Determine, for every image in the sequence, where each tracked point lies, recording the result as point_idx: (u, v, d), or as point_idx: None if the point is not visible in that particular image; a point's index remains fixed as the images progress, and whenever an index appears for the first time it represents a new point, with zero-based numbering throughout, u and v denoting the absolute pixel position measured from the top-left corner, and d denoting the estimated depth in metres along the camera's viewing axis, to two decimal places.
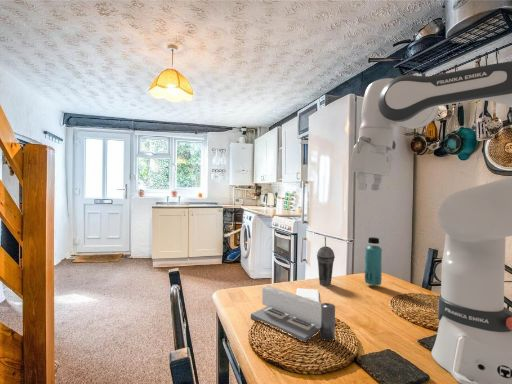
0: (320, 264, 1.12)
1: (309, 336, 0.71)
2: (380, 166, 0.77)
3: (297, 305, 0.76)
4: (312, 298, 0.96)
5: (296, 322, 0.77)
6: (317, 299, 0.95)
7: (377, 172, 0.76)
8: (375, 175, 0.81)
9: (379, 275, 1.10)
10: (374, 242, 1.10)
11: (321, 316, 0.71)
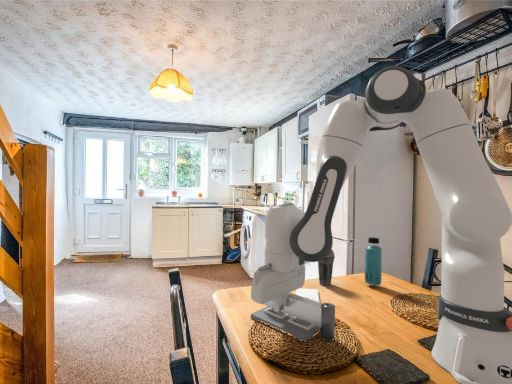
0: (320, 264, 1.12)
1: (309, 336, 0.71)
2: (287, 286, 0.77)
3: (297, 305, 0.76)
4: (312, 298, 0.96)
5: (296, 322, 0.77)
6: (317, 299, 0.95)
7: (284, 293, 0.76)
8: None
9: (379, 275, 1.10)
10: (374, 242, 1.10)
11: (321, 316, 0.71)
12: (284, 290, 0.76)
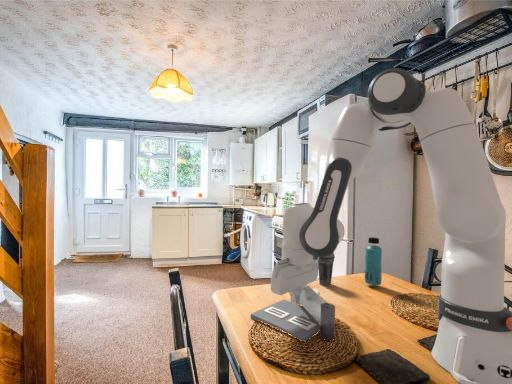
0: (320, 264, 1.12)
1: (309, 336, 0.71)
2: (303, 279, 0.83)
3: (309, 301, 0.79)
4: None
5: (296, 322, 0.77)
6: None
7: (300, 286, 0.82)
8: None
9: (379, 275, 1.10)
10: (374, 242, 1.10)
11: (320, 314, 0.72)
12: (300, 283, 0.82)
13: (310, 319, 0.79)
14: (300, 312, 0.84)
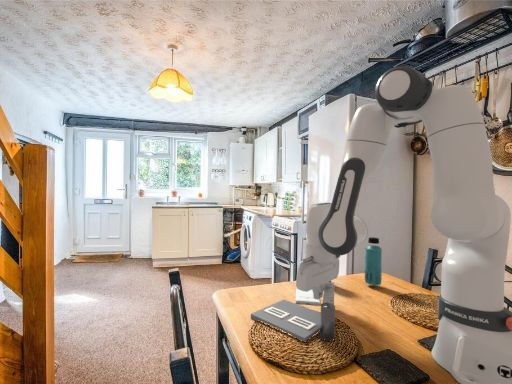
0: None
1: (309, 336, 0.71)
2: (325, 276, 0.86)
3: None
4: (312, 297, 0.96)
5: (296, 322, 0.77)
6: None
7: (323, 283, 0.85)
8: None
9: (379, 275, 1.10)
10: (374, 242, 1.10)
11: None
12: (323, 280, 0.85)
13: (310, 319, 0.79)
14: (300, 312, 0.84)
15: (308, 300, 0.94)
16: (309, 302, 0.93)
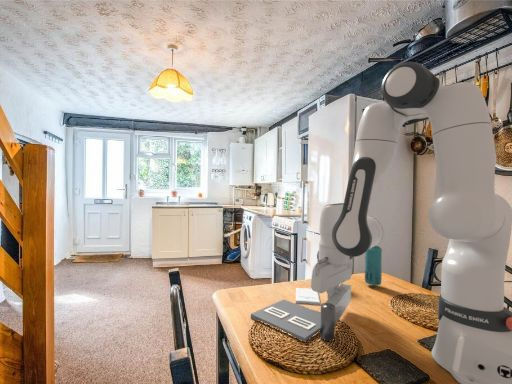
0: None
1: (309, 336, 0.71)
2: (340, 277, 0.85)
3: None
4: (312, 297, 0.96)
5: (296, 322, 0.77)
6: (317, 298, 0.96)
7: (337, 284, 0.84)
8: None
9: (379, 275, 1.10)
10: None
11: None
12: (337, 281, 0.84)
13: (310, 319, 0.79)
14: (300, 312, 0.84)
15: (308, 300, 0.94)
16: (309, 302, 0.93)
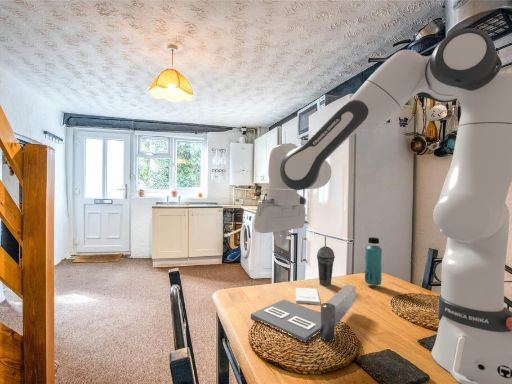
0: (320, 264, 1.12)
1: (309, 336, 0.71)
2: (288, 222, 0.82)
3: None
4: (312, 297, 0.97)
5: (296, 322, 0.77)
6: (317, 298, 0.96)
7: (285, 228, 0.81)
8: None
9: (379, 275, 1.10)
10: (374, 242, 1.10)
11: None
12: (285, 225, 0.81)
13: (310, 319, 0.79)
14: (300, 312, 0.84)
15: (308, 300, 0.94)
16: (310, 302, 0.93)
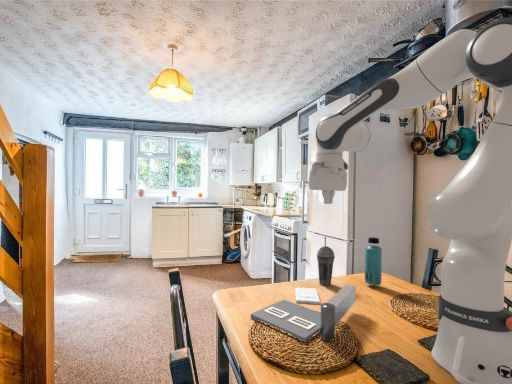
0: (320, 264, 1.12)
1: (309, 336, 0.71)
2: (335, 183, 0.94)
3: None
4: (312, 297, 0.97)
5: (296, 322, 0.77)
6: (317, 298, 0.96)
7: (333, 188, 0.94)
8: None
9: (379, 275, 1.10)
10: (374, 242, 1.10)
11: None
12: (333, 186, 0.93)
13: (310, 319, 0.79)
14: (300, 312, 0.84)
15: (308, 300, 0.94)
16: (310, 302, 0.94)
